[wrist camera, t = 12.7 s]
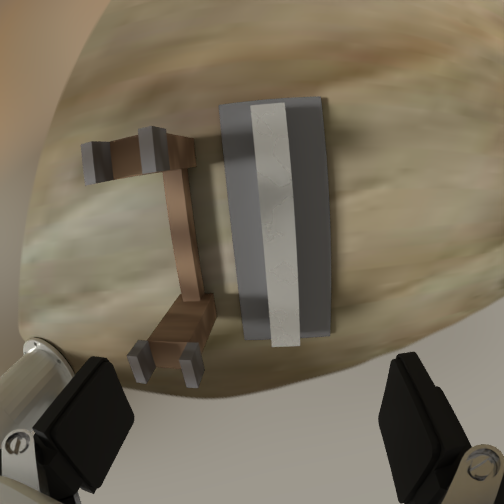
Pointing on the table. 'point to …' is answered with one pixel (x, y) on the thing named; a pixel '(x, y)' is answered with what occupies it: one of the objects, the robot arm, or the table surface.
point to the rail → (277, 221)
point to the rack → (184, 244)
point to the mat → (305, 211)
